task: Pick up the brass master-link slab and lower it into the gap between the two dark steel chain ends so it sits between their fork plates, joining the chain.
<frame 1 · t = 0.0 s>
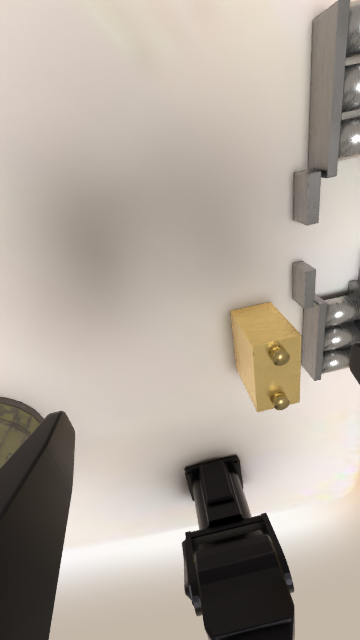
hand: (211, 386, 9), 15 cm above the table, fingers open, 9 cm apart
chain end a: (326, 325, 27), on the table
chain end b: (345, 99, 18), on the table
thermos: (1, 429, 28), on the table
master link: (252, 337, 27), on the table
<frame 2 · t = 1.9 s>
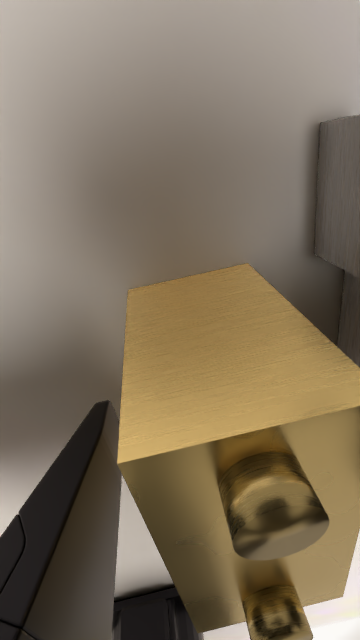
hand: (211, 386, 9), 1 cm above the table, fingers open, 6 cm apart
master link: (203, 363, 10), on the table
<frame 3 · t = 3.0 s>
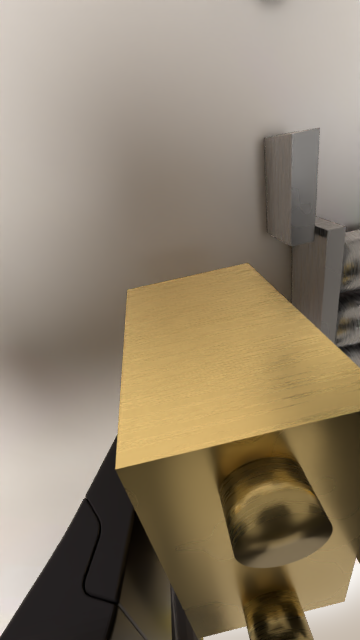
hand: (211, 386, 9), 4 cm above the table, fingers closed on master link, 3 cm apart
chain end a: (340, 296, 13), on the table
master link: (203, 364, 10), point 3 cm above the table, touching gripper
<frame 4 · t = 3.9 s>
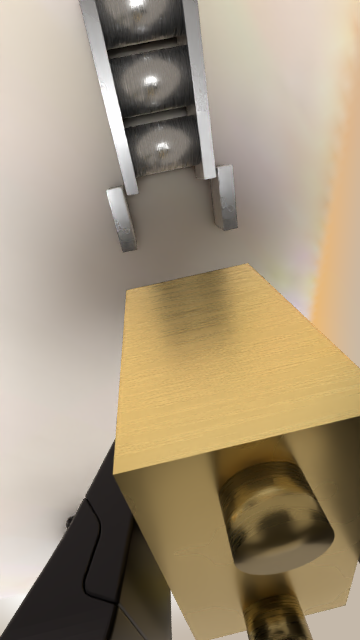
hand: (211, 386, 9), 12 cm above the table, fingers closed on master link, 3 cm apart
chain end b: (151, 99, 15), on the table
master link: (203, 365, 10), point 11 cm above the table, touching gripper
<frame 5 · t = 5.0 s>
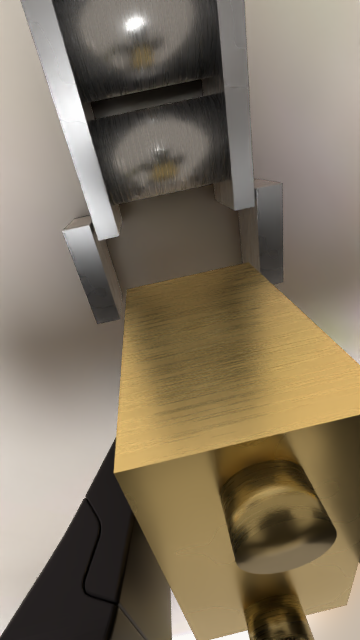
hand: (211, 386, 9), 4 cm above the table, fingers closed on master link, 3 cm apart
chain end b: (141, 67, 8), on the table
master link: (204, 365, 10), point 3 cm above the table, touching gripper
when the fingers open (2 cm above the table, at t = 5.6 s): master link drops 1 cm, on the table.
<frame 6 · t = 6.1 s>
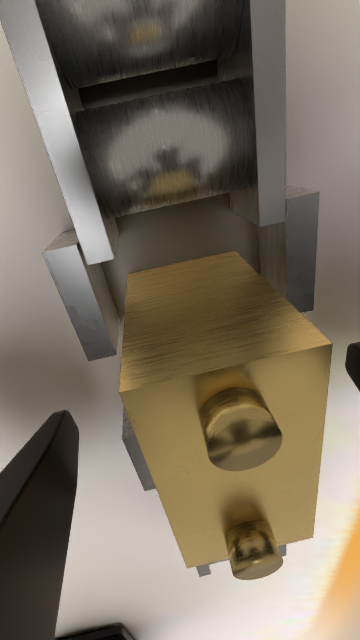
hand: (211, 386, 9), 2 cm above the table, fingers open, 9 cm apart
chain end a: (222, 476, 15), on the table
chain end b: (142, 46, 7), on the table
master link: (196, 343, 11), on the table
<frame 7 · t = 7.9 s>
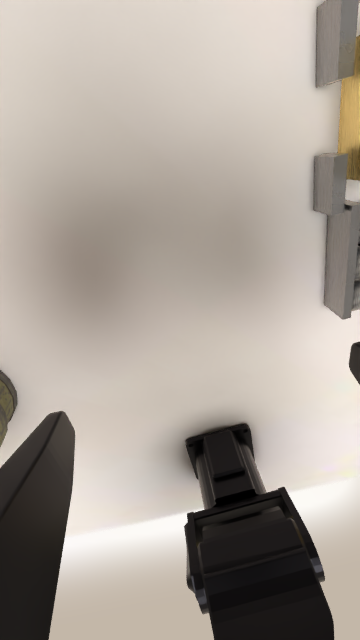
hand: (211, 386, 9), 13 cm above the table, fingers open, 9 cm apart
chain end a: (356, 249, 21), on the table
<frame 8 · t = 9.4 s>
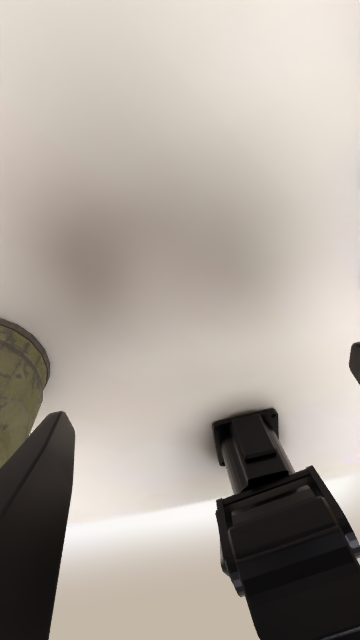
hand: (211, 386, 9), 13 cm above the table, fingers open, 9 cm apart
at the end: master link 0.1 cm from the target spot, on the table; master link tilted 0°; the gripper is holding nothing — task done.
